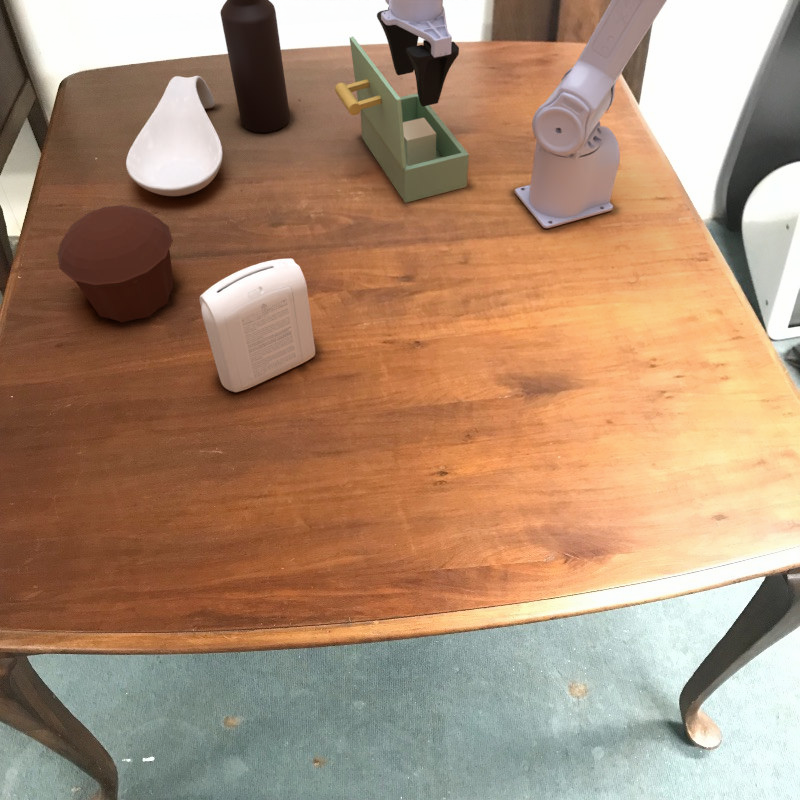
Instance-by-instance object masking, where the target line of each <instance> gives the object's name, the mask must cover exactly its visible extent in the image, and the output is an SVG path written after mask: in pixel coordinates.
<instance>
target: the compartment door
mask: <svg viewBox="0 0 800 800" xmlns="http://www.w3.org/2000/svg"><path fill="white" fill-rule="evenodd" d="M349 44H350V52H351V60H352V68H353V75H354V82H352V83H349V84H346V83H345V82H339V83H337V84H336V85H335V87H334V92H335V94H336V96H337V97H338V98H339V99H340V101H341V103H342V104H343V105H344V107H345V109H346V110H347V112H348V113H349V115H351V116H358V115H360V114H361V109H362V110H363V112H364V113H365V115H366V116H367V118H368V119H369V120H370V122H371V123H372V125H373V126H374V128H375V129H376V131H377V132H378V133H379V135H380V136H381V138H382V139H383V141H384V142H385V144H386V145H387V146H388V148H389V149H390V151H391V152H392V154H393V155H394V157H395V158H396V160H397V161H398V162H399V164H400V165H401V167H402V168H406V156H405V144H404V132H403V120H402V108H401V98H400V97H401V96H399V95H398V93H397V92H396V90H395V89H394V88H393V86H392V85H391V83H390V82H389V81H388V80H387V79H386V77H385V76H384V75H383V73H382V72H381V71H380V70H379V68H378V66H377V65H376V64H375V62H373V61H372V59H371V58H370V56H369V55H368V53H367V52H366V51H365V50H364V48H363V47H362V46H361V44H360V43H359V42H358V41H357V40H356V38H355V37H354V36H353V35H352V36H350V37H349ZM353 92H356V97H355V95H354V94H353Z"/></svg>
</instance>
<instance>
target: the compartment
mask: <svg viewBox="0 0 800 800" xmlns="http://www.w3.org/2000/svg"><path fill="white" fill-rule="evenodd" d="M399 97H400V98H401V108H402V120H403V122H407V121H411V120H415V119H420V118H425V120H426V121H427V122H428V123H429V125H430V126H431V127H432V129H433V130H434V131H435V132H436V159H434V160H430V161H426V162H422V163H418V164H414V165H410V166H407V164H406V168H402V167H401V165H400V164H399V162H398V161H397V160H396V158H395V157H394V155H393V154H392V152H391V151H390V149H389V148H388V146H387V145H386V144H385V142H384V141H383V139H382V138H381V136H380V135H379V133H378V132H377V131H376V129H375V128H374V126H373V125H372V123H371V122H370V120H369V119H368V118H367V116H366V115H365V113H364V112H363V110H362V109H361V111H360V128H361V138H362V140H363V141H364V143H365V145H366V147H367V148H368V149H369V151H370V153H371V154H372V155H373V157H374V158H375V160H376V162H377V163H378V164H379V166H380V168H381V169H382V171H383V172H384V174H385V175H386V176H387V178H388V180H389V181H390V182H391V184H392V186H393V187H394V188H395V190H396V192H397V193H398V195H399V196H400V197H401V199H402V201H403V202H404V203H405V204H406V203H410V202H415V201H418V200H421V199H425V198H430V197H434V196H438V195H441V194H446V193H449V192H452V191H453V192H454V191H456V190H460V189H464V188H467V186H468V178H469V177H468V176H469V175H468V174H469V160H470V159H469V158H470V154H469V152H468V151H467V150H466V148H464V146H463V145H462V144H461V142H459V140H458V139H457V138H456V136H455V135H454V134H453V132H452V131H451V130H450V129H449V127H448V126H447V125H446V124H445V122H444V121H443V120H442V119H441V118H440V116H439V115H438V114H437V113H436V111H435V110H434V109H433V107H432V105H428V106H424V107H423V106H422V105H421V104H420V102H419V98H418V92H417V93H411V94H408V95H402V96H399Z"/></svg>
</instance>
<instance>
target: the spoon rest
mask: <svg viewBox="0 0 800 800" xmlns="http://www.w3.org/2000/svg"><path fill="white" fill-rule="evenodd" d="M215 105H216V101H215V98H214V95H213V94H212V91H211V89H210V87H209V86H208V84H207V82H206V80H204V78H202V77H201V76H199V75H194V76H190V77H185V76H179V75H175V76H173V77H172V78H171V79H170V80H169V82H168V84H167V86H166V88H165V89H164V92H163V95H162V97H161V98H160V99H159V101H158V104H157V106H156V107H155V109H154V111H152V113H151V115H150V117H149V118H148V119H147V121H146V122H145V124H144V125H143V127H142V128H141V130H140V131H139V133H138V134H137V136H136V137H135V140H133V143H132V145H131V146H130V148H129V151H128V153H127V156H126V160H125V161H126V162H125V167H126V171H127V173H128V175H129V177H130V178H131V179H132V180H133V182H134V183H136V184H137V185H138V186H140V187H141V188H143V189H144V190H146V191H148V192H151V193H154V194H155V195H156V194H157V195H161V196H166V197H182V196H187V195H191V194H194V193H196V192H198V191H200V190H202V189H204V188H205V187H207V186H208V185H209V184H211V182H212V181H214V179H215V177H216V176H217V175H218V173H219V170H220V168H221V166H222V162H223V157H224V154H223V146H222V142H221V140H220V137H219V134H218V133H217V130H216V129H215V127H214V125H213V123H212V121H211V119H210V118H209V116H208V113H207V112H206V110H205V109H211V108H212V109H213V108H214V107H215Z"/></svg>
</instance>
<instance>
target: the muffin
mask: <svg viewBox="0 0 800 800" xmlns="http://www.w3.org/2000/svg"><path fill="white" fill-rule="evenodd" d="M173 242H174V241H173V237H172V233H171V229H170V226H169V225H167V223H164V222H163V220H161V219H160V218H159V217H157V216H156V215H155V214H153V213H151V212H150V211H148V210H146V209H144V208H142V207H136V206H131V205H125V204H123V205H122V204H119V205H112V206H110V205H109V206H104V207H101V208H98V209H95V210H92V211H89V212H87V213H86V214H84V216H81V217H80V218H79V219H78V220H76V221H75V222H73V223H72V224H71V225H70V227H69V229H68V230H67V232H66V233H65V234H64V237H63V238H62V239H61V241H60V244H59V248H58V252H57V260H58V261H57V262H58V267H59V270H60V271H61V272H62V273H63V274H65V275H66V276H67V277H68V278H70V279H71V280H72V281H74V282H75V283H76V284H77V286H78V288H79V289H80V290H81V292H82V293H83V294H84V297H86V299H87V300H88V302H89V304H91V306H92V307H93V310H95V312H96V313H97V314H98V316H99V317H101V318H105V319H111V320H113V321H117V322H119V323H126V322H131V321H135V320H140V319H148V318H149V317H151V316H152V315H153V314H154V313H156V312H157V311H158V310H159V309H161V308H163V307H164V306H166V305H167V304H169V299H170V295H171V292H172V290H173V288H174V279H173V269H172V262H171V252H170V249H171V246H172V244H173Z"/></svg>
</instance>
